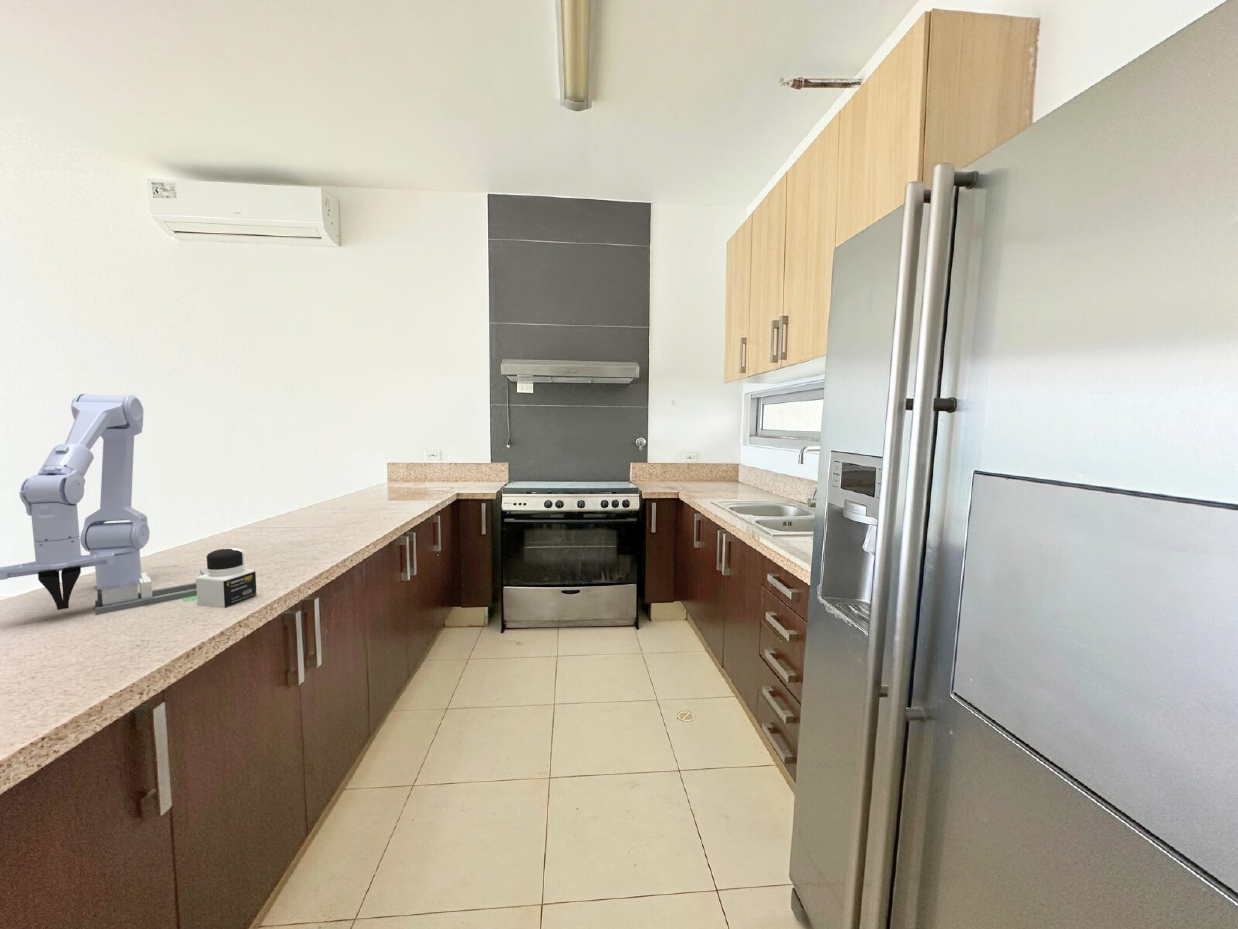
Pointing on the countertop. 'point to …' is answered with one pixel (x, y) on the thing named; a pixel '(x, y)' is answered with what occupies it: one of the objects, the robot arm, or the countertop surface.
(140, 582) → the off-white rectangular block
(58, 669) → the countertop surface
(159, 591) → the gauge board
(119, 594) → the grey rail carriage
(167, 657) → the countertop surface
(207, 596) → the medicine bottle
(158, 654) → the countertop surface
